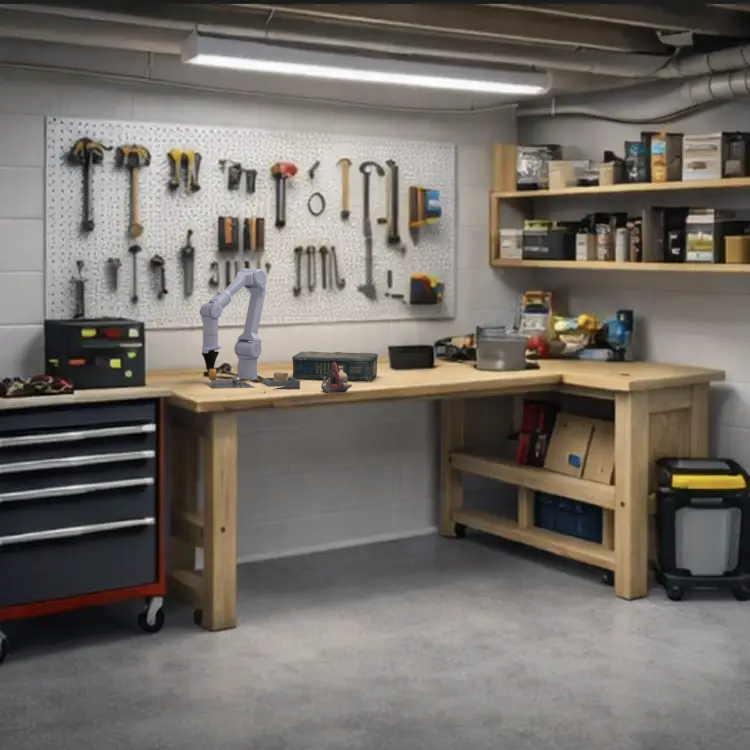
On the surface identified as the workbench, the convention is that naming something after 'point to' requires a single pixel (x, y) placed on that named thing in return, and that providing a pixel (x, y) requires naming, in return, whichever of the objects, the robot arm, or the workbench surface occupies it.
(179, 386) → the workbench surface
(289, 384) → the tray
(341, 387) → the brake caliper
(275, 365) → the workbench surface
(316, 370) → the metal box
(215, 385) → the crank base
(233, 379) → the crank
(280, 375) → the block
